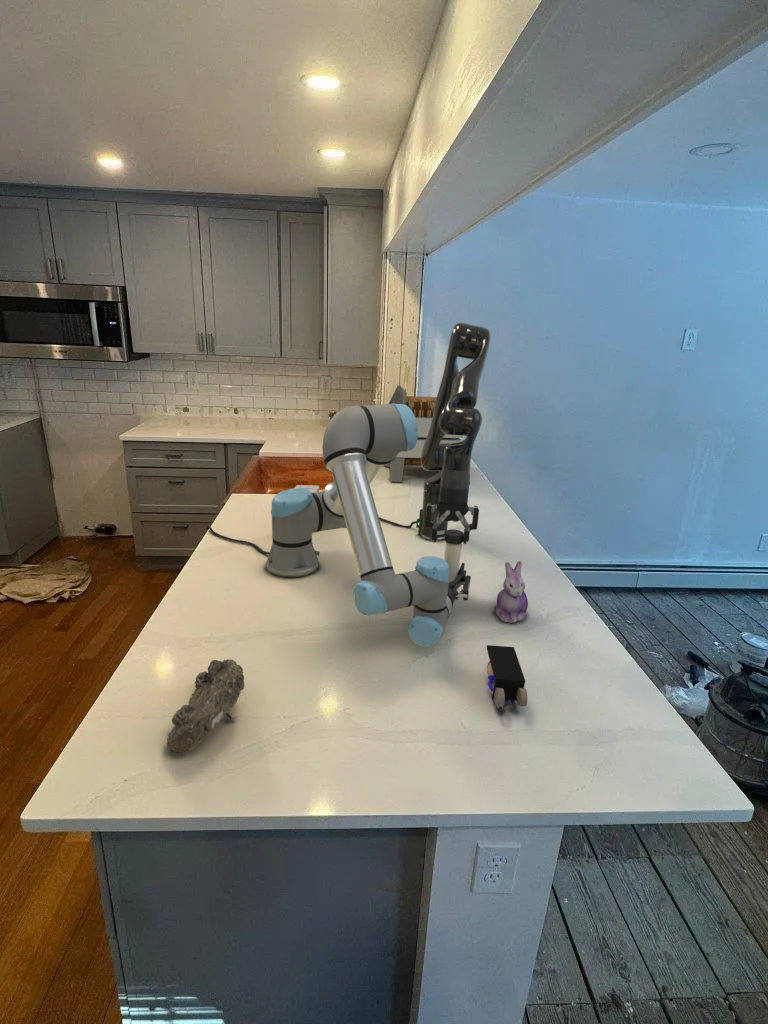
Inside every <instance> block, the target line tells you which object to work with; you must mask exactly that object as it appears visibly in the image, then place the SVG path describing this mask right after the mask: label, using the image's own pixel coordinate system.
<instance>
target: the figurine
mask: <svg viewBox="0 0 768 1024" xmlns="http://www.w3.org/2000/svg"><path fill="white" fill-rule="evenodd" d="M522 566H523V563H522V561H521V560H518V561H517V562H516V564H515V565H514V568H513V567H512V566H511V564H510V562H508V561H506V562H505V563H504V569H505V570H504V571H505V579H504V580H503V582H502V583H503V585H502V586H503V587H502V589H501V590H500V591H499V592H498V594H497V596H496V606H495V613H496V614H495V615H497V616H498V617H499V620H501V621H502V622H505V623H511V624H512V623H514V624H515V623H517V622H520V621H523V619H524V618H525V617H526V614H527V610H528V607H529V600H528V597H527V594H526V592H525V588H526V584H525V580H524V578H523V576H522Z"/></svg>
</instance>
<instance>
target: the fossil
mask: <svg viewBox="0 0 768 1024" xmlns="http://www.w3.org/2000/svg"><path fill="white" fill-rule="evenodd" d="M243 670H244V669H243V667H242V665H240V664H237V662H236V661H235V660H234V659H232V658H231V659H227V658H226V659H224V660H223V661H222V660H217V659H212V660H211V661H210V663H209V665H208V666H207V671H201V672H199V673H198V674H197V675H196V676H195V680H194V684H195V685H194V687H195V689H194V690H193V693H192V694H191V697H190V698H189V700H188V704H184V705H182V706H181V707H180V709H177V710H176V711H175V713H174V715H173V716H172V718H171V723H172V724H173V727H172V730H171V731H170V732H168V734H167V738H166V741H167V742H166V745H167V749H168V750H169V751H173V752H174V753H176V754H178V753H182V752H188V751H189V752H192V751H193V750H195V748H196V747H197V746H199V744H200V743H201V742H203V741H204V740H205V739H206V738H207V737H208V736H209V735H210V734H211V733H212V732H214V730H215V729H217V727H218V726H219V724H220V722H221V721H222V720H223V719H224V718H225V716H226V717H227V719H229V720H233V717H232V715H230V714H229V710H230V709H231V708H234V706H235V704H236V703H237V702H238V699H239V697H240V695H241V693H242V691H243V690H245V689H244V688H245V675H244V671H243Z"/></svg>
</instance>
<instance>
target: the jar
mask: <svg viewBox="0 0 768 1024" xmlns="http://www.w3.org/2000/svg"><path fill="white" fill-rule="evenodd" d="M462 544H463V543H461V544H450V543H447V542H446V541H445V545H444V555H443V556H444V558H443V560H444V561H446V562H447V563H448V565H449V583H450V582H451V581H453V580H454V579H455V578H457V577H458V571H459V569H460V566H461V565H460V562H461V555H462V553H461V552H462Z"/></svg>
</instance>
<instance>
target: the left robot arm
mask: <svg viewBox="0 0 768 1024" xmlns="http://www.w3.org/2000/svg"><path fill="white" fill-rule="evenodd" d="M417 438H418V428H417V422H416V418H415V416H414V414H413V412H412V410H411V409H410V408H409V407H408V406H406V405H404V404H395V403H393V404H388V403H386V404H384V403H383V404H369V405H349V406H346V407H343V408H342V409H340V410H339V411H338V412H336V413H335V414H334V416H333V417H332V418H331V419H330V420H329V422H328V423H327V426H326V428H325V431H324V435H323V439H322V446H321V447H322V458H323V462H324V466H325V469H326V470H327V471H329V473H331V474H332V479H333V481H331V482H329V483H328V484H327V485H326V486H325V488H324V489H323V490H324V491H323V492H321V491H319V493H311V491H310V490H308V489H303V488H300V489H298V488H295V487H294V488H295V489H294V488H289V489H285V490H282V491H280V492H277V494H275V495H274V496H273V498H272V499H271V509H270V515H271V539H272V544H271V546H270V550H269V551H264V550H263V549H262V548H260V547H259V546H258V545H257V544H255V543H253V542H252V541H251V542H250V541H247V540H242V539H236V538H231V537H228V536H224V535H222V534H219V533H218V532H216V531H214V530H213V528H212V526H210V525H209V526H207V527H206V528H205V529H206V530H210V532H211V533H212V534H213V535H215V536H217V537H219V538H222V539H224V540H228V541H231V542H236V543H240V544H246V545H250V546H252V547H254V548H256V549H257V550H258V551H259V552H260V553H261V554H264V555H268V556H267V559H266V569H267V571H268V572H269V573H270V574H272V575H274V576H277V577H283V578H298V577H305V576H308V575H311V574H312V573H313V574H314V572H316V571H317V570H318V568H319V558H318V557H321V552H320V551H319V550H315V547H314V544H313V534H314V533H318V532H319V533H320V532H324V531H325V532H326V531H330V530H339V529H347V530H346V531H347V533H348V536H349V537H348V538H349V541H350V544H351V547H352V551H353V555H354V557H355V558H354V559H355V562H356V566H357V569H358V574H359V578H360V581H359V582H357V583H356V584H355V585H354V587H353V597H354V598H353V600H354V601H353V602H354V604H355V607H356V609H357V611H358V612H359V613H360V614H361V615H363V616H365V617H370V616H376V615H381V614H382V615H384V614H386V613H389V612H393V611H398V610H400V609H405V608H409V607H413V611H412V618H411V619H410V620H409V625H408V635H409V637H410V639H411V641H412V642H413V643H415V644H417V646H421V647H424V648H428V647H432V646H435V645H436V644H437V643H438V642H439V640H440V639H441V637H442V636H443V634H444V630H445V627H446V625H447V622H448V619H449V617H450V615H451V612H452V609H453V606H454V604H455V602H456V601H457V600H458V599H459V598H461V599H462V600H463V601H468V600H469V595H470V594H469V593H470V591H469V590H470V586H471V579H472V576H471V575H470V574H469V575H468V574H467V570H465V564H466V563H465V562H461V565H460V566H459V571H458V577H457V578H455V579H454V580H453V581H451V582H450V583H449V565H448V563H447V562H446V561H444V558H441V557H438V556H422V557H421V558H419V559H418V560H417V561H416V565H415V566H414V567H415V569H414V570H411V571H405V572H401V573H397V574H396V572H395V570H394V566H393V563H392V559H391V556H390V552H389V549H388V544H387V541H386V538H385V535H384V531H383V527H382V524H381V520H379V517H380V516H379V514H378V510H377V506H376V502H375V498H374V496H373V492H372V488H371V483H372V482H373V481H374V479H375V477H376V476H377V475H378V473H379V471H380V470H381V469H382V468H383V466H384V465H387V464H389V463H391V462H392V461H393V460H394V459H395V457H396V456H397V455H398V453H399V452H401V451H405V452H407V451H409V450H412V449H413V448H414V447H415V445H416V443H417ZM461 586H462V588H461V589H460V587H461ZM458 589H460V591H458Z"/></svg>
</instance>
